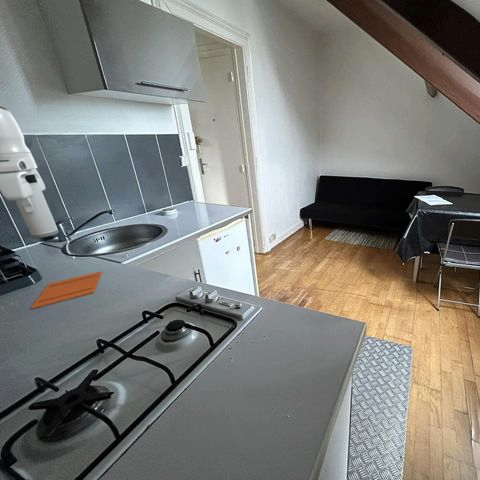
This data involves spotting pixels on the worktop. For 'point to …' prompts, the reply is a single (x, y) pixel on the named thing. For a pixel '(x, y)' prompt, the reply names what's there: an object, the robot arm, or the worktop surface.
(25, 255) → the worktop surface
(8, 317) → the worktop surface
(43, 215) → the travel mug
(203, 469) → the worktop surface
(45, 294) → the drying mat
